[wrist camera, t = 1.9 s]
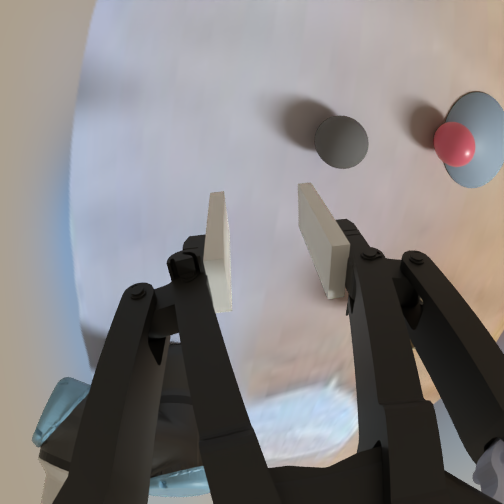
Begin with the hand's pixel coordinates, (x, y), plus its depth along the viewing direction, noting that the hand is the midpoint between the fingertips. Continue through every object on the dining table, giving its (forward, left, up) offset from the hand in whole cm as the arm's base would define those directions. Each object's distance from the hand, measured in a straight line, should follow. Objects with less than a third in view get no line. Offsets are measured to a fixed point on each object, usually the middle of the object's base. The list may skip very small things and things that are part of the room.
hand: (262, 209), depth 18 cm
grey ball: (+9, 0, -14) cm, 17 cm away
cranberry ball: (+24, 0, -14) cm, 28 cm away
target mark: (+31, 0, -17) cm, 36 cm away
